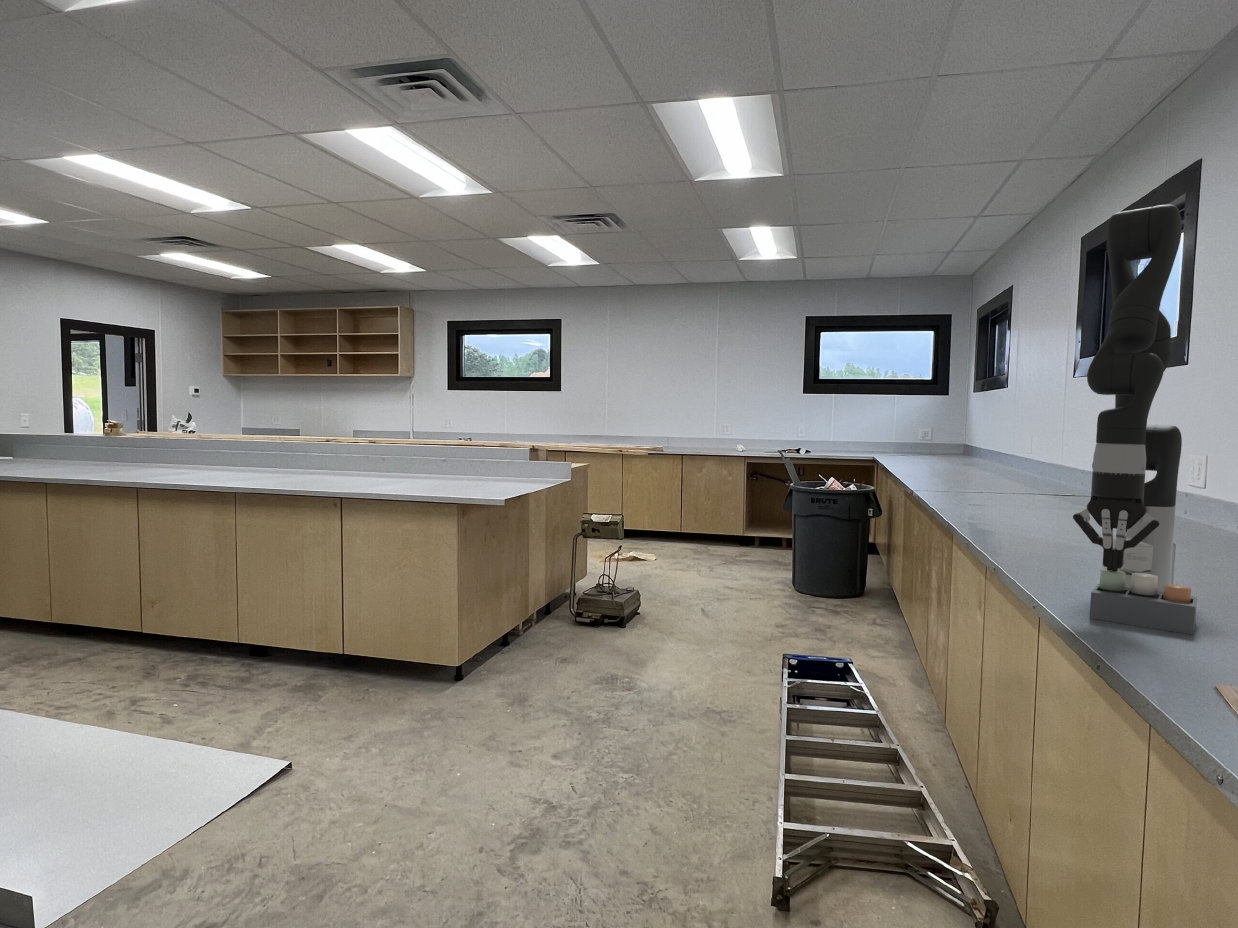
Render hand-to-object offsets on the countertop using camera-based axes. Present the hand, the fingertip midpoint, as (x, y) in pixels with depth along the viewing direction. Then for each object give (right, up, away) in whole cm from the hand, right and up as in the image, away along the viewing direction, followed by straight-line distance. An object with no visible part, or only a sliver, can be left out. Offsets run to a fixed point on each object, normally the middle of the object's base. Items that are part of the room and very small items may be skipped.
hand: (1112, 570), depth 127 cm
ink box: (+9, -8, +10) cm, 16 cm away
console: (+4, -8, -2) cm, 9 cm away
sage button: (0, -3, 0) cm, 3 cm away
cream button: (+4, -3, -3) cm, 6 cm away
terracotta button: (+7, -5, -5) cm, 10 cm away
